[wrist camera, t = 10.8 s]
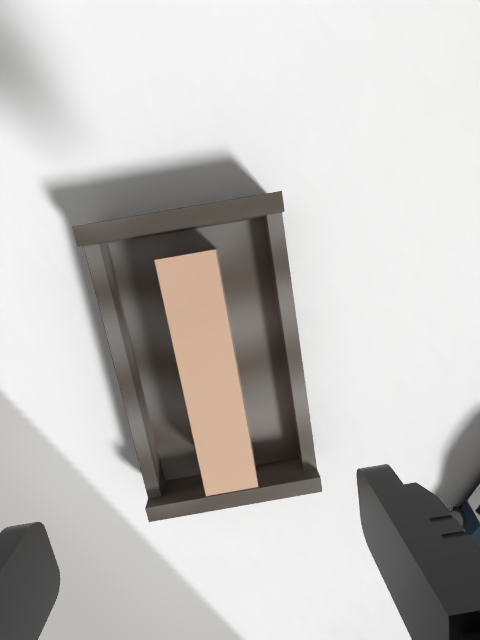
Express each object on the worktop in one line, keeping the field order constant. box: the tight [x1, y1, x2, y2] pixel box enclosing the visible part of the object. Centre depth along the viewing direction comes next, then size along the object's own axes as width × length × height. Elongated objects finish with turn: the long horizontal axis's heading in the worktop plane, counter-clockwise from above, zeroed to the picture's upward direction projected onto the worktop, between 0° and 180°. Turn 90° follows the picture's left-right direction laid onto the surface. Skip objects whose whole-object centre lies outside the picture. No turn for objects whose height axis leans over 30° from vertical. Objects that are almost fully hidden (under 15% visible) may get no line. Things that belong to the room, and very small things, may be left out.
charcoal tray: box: [73, 191, 322, 522], centre depth 26 cm, size 21×13×4 cm, turn 9°
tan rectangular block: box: [154, 249, 258, 496], centre depth 24 cm, size 16×4×4 cm, turn 10°
